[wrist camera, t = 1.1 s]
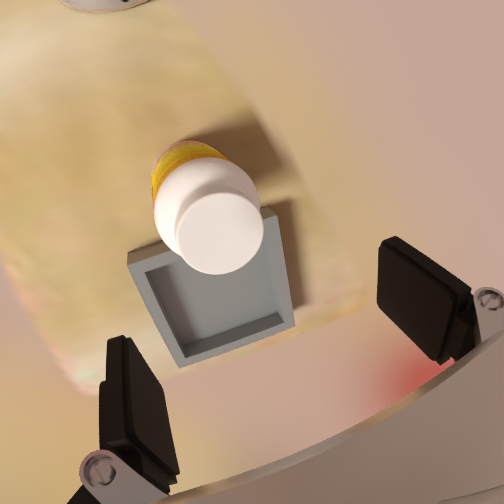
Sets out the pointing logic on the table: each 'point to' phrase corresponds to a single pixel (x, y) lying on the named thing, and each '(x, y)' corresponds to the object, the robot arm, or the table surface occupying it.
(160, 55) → the table surface
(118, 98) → the table surface
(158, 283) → the tray
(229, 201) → the supplement bottle
